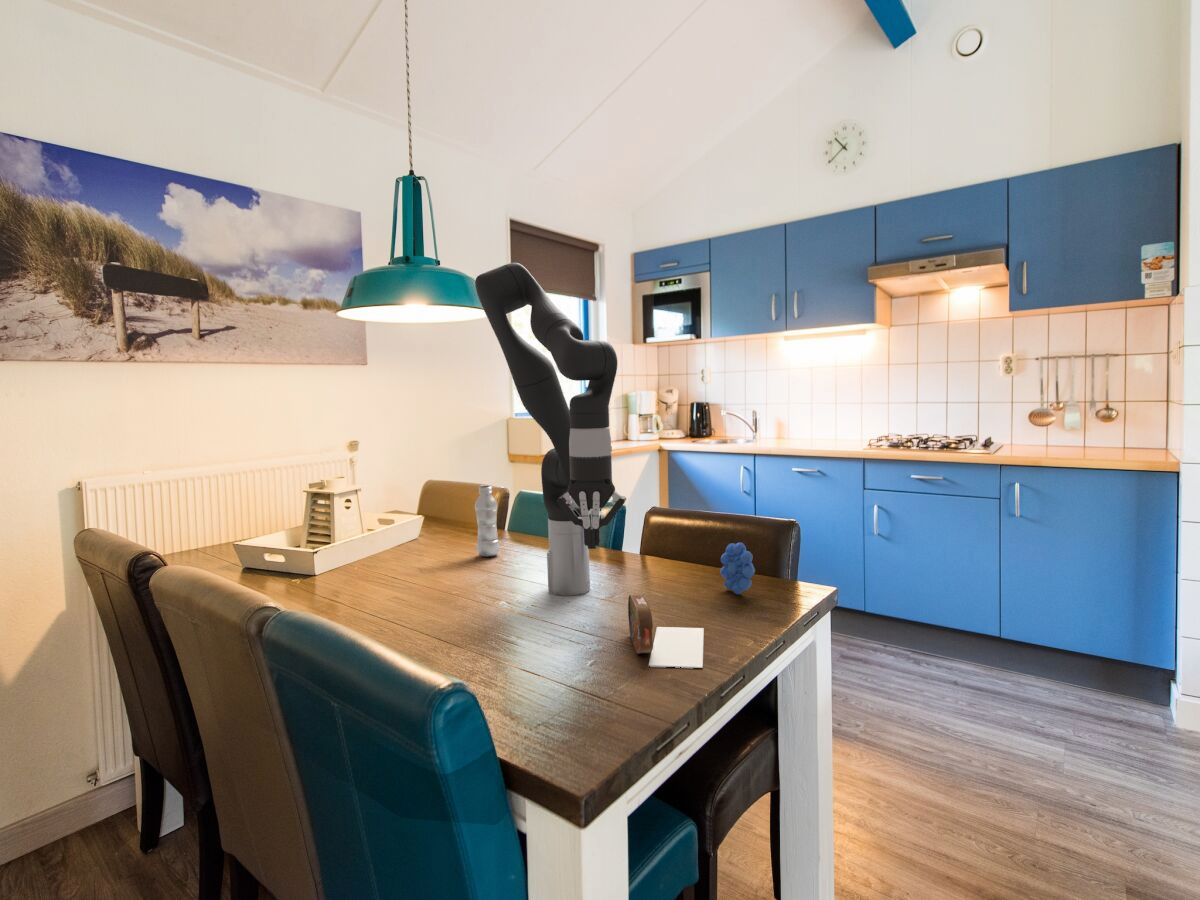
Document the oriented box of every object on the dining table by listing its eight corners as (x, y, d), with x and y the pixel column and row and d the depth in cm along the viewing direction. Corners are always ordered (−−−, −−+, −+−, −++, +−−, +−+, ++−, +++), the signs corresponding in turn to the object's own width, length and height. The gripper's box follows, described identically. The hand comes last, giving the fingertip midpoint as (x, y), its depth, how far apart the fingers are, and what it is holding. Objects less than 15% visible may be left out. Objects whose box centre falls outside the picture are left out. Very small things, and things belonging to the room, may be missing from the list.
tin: (628, 631, 130) (624, 589, 130) (644, 629, 131) (640, 587, 130) (639, 662, 115) (635, 614, 115) (657, 659, 116) (653, 612, 115)
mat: (648, 666, 114) (648, 665, 114) (657, 628, 132) (656, 626, 132) (702, 668, 112) (702, 667, 112) (703, 629, 130) (703, 628, 130)
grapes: (769, 598, 147) (769, 544, 146) (743, 603, 145) (742, 548, 144) (738, 584, 158) (737, 534, 157) (713, 588, 155) (713, 537, 154)
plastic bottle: (504, 553, 194) (501, 484, 192) (493, 559, 188) (489, 488, 186) (484, 552, 196) (481, 484, 194) (472, 558, 190) (469, 488, 188)
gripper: (549, 455, 118) (552, 552, 120) (623, 455, 116) (626, 553, 118) (559, 451, 126) (562, 542, 127) (629, 450, 123) (631, 543, 125)
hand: (592, 547), depth 123 cm, fingers closed
